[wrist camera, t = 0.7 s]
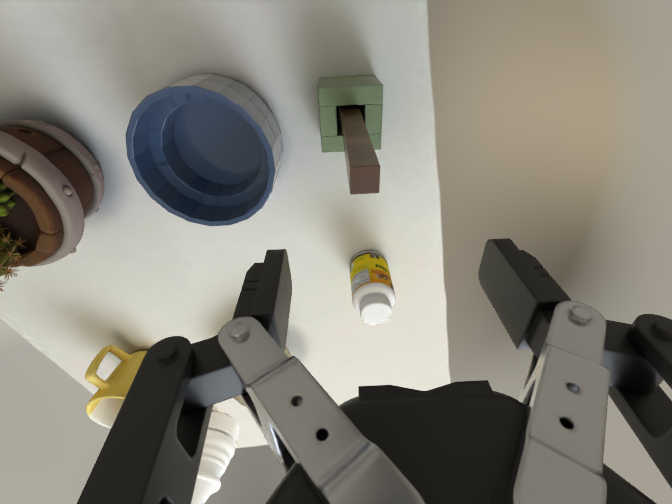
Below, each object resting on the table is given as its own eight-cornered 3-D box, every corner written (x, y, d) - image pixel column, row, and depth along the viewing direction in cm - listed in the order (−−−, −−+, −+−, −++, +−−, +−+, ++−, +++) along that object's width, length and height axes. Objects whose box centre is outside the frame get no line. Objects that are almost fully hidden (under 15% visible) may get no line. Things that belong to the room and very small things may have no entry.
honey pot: (225, 406, 71) (199, 509, 56) (248, 435, 78) (230, 532, 63) (169, 415, 72) (130, 517, 58) (197, 442, 79) (168, 539, 65)
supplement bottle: (393, 267, 50) (407, 318, 41) (361, 283, 52) (368, 335, 43) (374, 242, 47) (384, 291, 39) (341, 260, 49) (345, 311, 40)
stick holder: (318, 77, 35) (317, 88, 30) (375, 74, 35) (383, 84, 30) (322, 135, 38) (322, 152, 33) (373, 132, 38) (380, 149, 33)
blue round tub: (139, 76, 34) (99, 90, 28) (272, 69, 34) (261, 81, 28) (181, 198, 42) (157, 228, 36) (289, 192, 42) (283, 222, 36)
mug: (187, 372, 64) (166, 428, 55) (137, 379, 64) (108, 435, 56) (153, 324, 56) (122, 380, 47) (96, 332, 56) (55, 389, 48)
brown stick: (339, 97, 36) (350, 167, 20) (355, 96, 36) (380, 165, 20) (339, 115, 37) (350, 194, 21) (355, 114, 37) (379, 193, 21)
